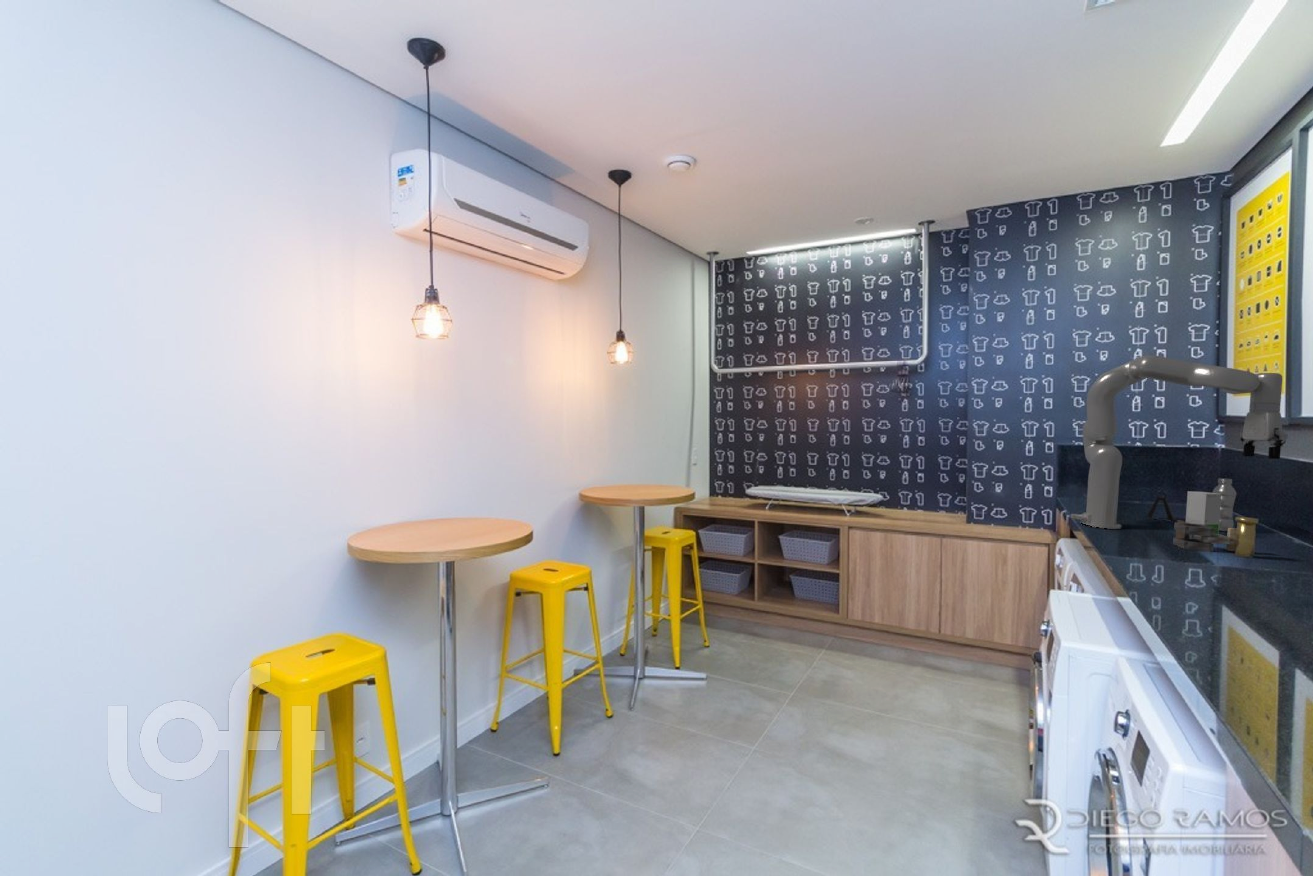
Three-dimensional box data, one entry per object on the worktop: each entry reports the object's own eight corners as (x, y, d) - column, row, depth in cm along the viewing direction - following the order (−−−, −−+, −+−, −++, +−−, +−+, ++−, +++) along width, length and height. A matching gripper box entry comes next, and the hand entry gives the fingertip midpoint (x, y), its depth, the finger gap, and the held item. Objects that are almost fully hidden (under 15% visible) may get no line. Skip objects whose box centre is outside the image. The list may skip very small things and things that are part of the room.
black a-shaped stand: (1174, 520, 247) (1176, 491, 246) (1173, 522, 243) (1176, 493, 242) (1146, 517, 253) (1148, 489, 253) (1145, 518, 249) (1147, 490, 248)
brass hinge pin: (1238, 557, 183) (1241, 518, 182) (1229, 553, 188) (1232, 516, 187) (1259, 559, 181) (1262, 520, 181) (1249, 555, 186) (1252, 517, 185)
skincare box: (1203, 536, 214) (1206, 493, 213) (1182, 532, 221) (1185, 491, 220) (1219, 535, 216) (1223, 493, 216) (1198, 532, 223) (1202, 490, 222)
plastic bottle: (1208, 528, 231) (1212, 477, 230) (1232, 531, 226) (1236, 478, 225) (1209, 530, 226) (1213, 478, 225) (1234, 533, 221) (1238, 480, 220)
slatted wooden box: (1183, 549, 192) (1185, 526, 192) (1164, 540, 205) (1165, 519, 205) (1212, 551, 190) (1214, 528, 189) (1191, 542, 203) (1193, 521, 202)
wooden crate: (1203, 550, 191) (1204, 527, 190) (1191, 545, 198) (1193, 523, 197) (1258, 554, 186) (1260, 532, 186) (1244, 549, 193) (1246, 527, 193)
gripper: (1231, 408, 216) (1228, 455, 217) (1276, 408, 199) (1272, 459, 200) (1253, 408, 215) (1250, 455, 216) (1300, 408, 198) (1296, 460, 199)
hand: (1260, 457), depth 208 cm, fingers open, 9 cm apart
